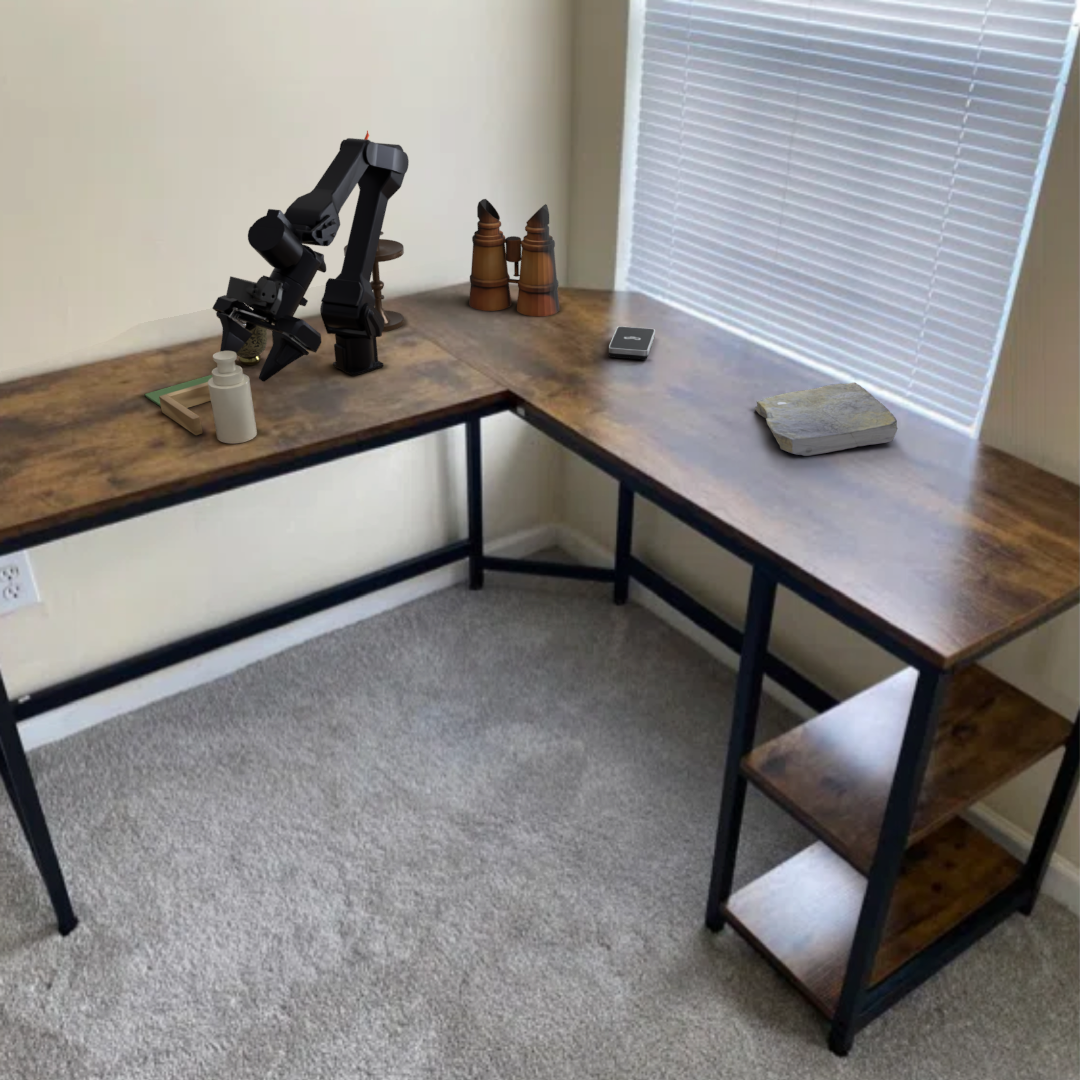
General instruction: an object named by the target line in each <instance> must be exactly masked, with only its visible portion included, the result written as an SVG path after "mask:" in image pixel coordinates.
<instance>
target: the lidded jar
mask: <svg viewBox="0 0 1080 1080" xmlns="http://www.w3.org/2000/svg"><path fill="white" fill-rule="evenodd" d="M237 359H238V356H237V354H236V353H235V352H233V351H220V350H219V351H217V352H215V353H213V355H212V361H213V362H215V363H216V367H215V368H213V369H212V370H211V375H212V378H210V379H209V381H208V387H209V393H210V399H211V401H210V404H211V411H212V418H213V422H214V429H215V435H216V439H217V441H219V442H221V443H224V444H231V445H232V444H233V445H234V444H242V443H246V442H249V441H252V440H254V438H255V437H257V435H258V430H257V423H256V415H255V408H254V402H253V394H252V388H251V382H250V376H248V375H247V374H245V373H244V372H243V371H244V370H243V368H242V367H241V366H240V365H237V364H236V360H237Z"/></svg>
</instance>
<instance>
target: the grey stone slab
mask: <svg viewBox="0 0 1080 1080" xmlns="http://www.w3.org/2000/svg"><path fill="white" fill-rule="evenodd" d="M754 410H755V411H756V412H757V414H758V415H759V416H761V417H763V418H764V419H765V420H766V424H767V426H768V428H769V429H770V431H771V433H772V435H773V437H774V438H775V440H776V442H777V444H778V445H779V448H780V450H783V451H785V452H788V453H789V454H794V455H796V456H798V455H799V456H803V457H810V456H815V455H821V454H826V453H832V452H837V451H843V450H847V449H853V448H854V449H855V448H857V447H864V446H869V445H871V446H872V445H878V444H885V443H887V444H888V443H890V442H893V440H894V438H895V436H896V434H897V431H898V420H897V418H896V417H895V415H894V414H893V413H892V412H891V410H889V408H887V407H886V406H885V405H884V404H883V403H881V401H879V400H878V399H877V398H876V397H875V396H874V395H872V393H871V392H869V391H868V390H867V389H866V388H864V387H863V386H861V385H860V384H858V383H856V382H850V383H834V384H833V383H832V384H827V385H823V386H820V387H814V388H810V389H805V390H796V391H790V392H785V393H780V394H776V395H771V396H768V397H764V398H762V399H758V400H756V406H754Z"/></svg>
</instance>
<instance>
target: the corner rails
mask: <svg viewBox="0 0 1080 1080" xmlns="http://www.w3.org/2000/svg"><path fill="white" fill-rule="evenodd" d="M159 399H160V404H161V407H160V408H161V413H162V414H164V415H165V416H167V417H168V418H169V419H171V420H173V421H174V422H175V423H177V424H178V425H180V426H181V427H182V428H184V429H186V430H187V431H188V432H190V433H191V434H192V435H194V436H198V435H202V434H203V428H202V421H201V416H199V415H198V414H196V413H194V412H193V411H192V410H190V409H189V408H191V407H195V406H199V405H202V404H206V403H208V402H211V399H210V393H209V387H208V382H206V383H202V384H199V385H196V386H192V387H189V388H185V389H182V390H179V391H175V392H172V393H168V394H165V395H162V396H159Z"/></svg>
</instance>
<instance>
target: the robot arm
mask: <svg viewBox="0 0 1080 1080" xmlns="http://www.w3.org/2000/svg"><path fill="white" fill-rule="evenodd" d="M409 162H410V161H409V156H408V154H407V152H405V151H404V149H403V147H402V146H401V145H400V144H396V143H395V144H394V143H383V142H375V141H371V140H370V139H368V140H366V139H364V138H353V137H347V138H346V139H342V141H341V142H340V145H339V151H338V152H337V154H336V155H335V156H334V158H333V160H332V161H331V162H330V164H329V166H327V169H326V170H325V172H324V173H323V174H322V176H321V177H320V178H319V180H318V182H317V183H316V185H315V187H314V188H313V189H311V191H310V192H307V193H305V194H303V195H301V196H298V197H296V199H295V200H294V201H292V203H291V204H290V205H288V207H287V208H286V210H285V212H283V211H282V210H281V209H274V208H273V209H272V208H268V209H267V212H266V214H265V215H264V216H262V217H259V218H258V219H256V220H255V222H254V223H253V224H252V225H251V226H250V227H249V229H248V232H247V241H248V243H249V245H250V246H251V248H252V249H254V251H255V252H256V253H257V254H258V255H259V256H260V257H262V259H264V261H265V262H266V263H268V264H269V265H270V266H271V267H272V268H273V269H272V271H271V273H270V275H269V276H267V275H262V276H261V277H259V278H258V279H257V281H252V280H247V279H244V278H240V277H235V276H229V280H228V284H227V290H226V294H224V295H220V296H218V297H217V298H216V300H215V302H214V304H213V306H212V310H213V311H215V314H216V315H215V316H216V317H217V318H218V319H219V322H220V324H221V329H222V332H221V334H222V335H221V343H220V349H219V352H220V351H233V352H235V353H236V354H237V353H238V351H239V350H240V349H241V348H242V347H243V345H244V344H245V343H246V342H247V341H248V339H249V338H250V337H251V336H252V333H250V332H249V331H250V330H252V329H254V328H255V327H256V325H257V326H260V327H263V328H266V329H267V330H269V331H272V333H271V334H272V346H271V348H270V350H269V351H268V354H267V357H266V358H265V360H264V363H263V365H262V367H261V369H260V372H259V375H258V380H259V381H261V382H263V383H265V382H266V381H268V380H269V379H270V378H272V377H273V376H275V375H276V374H277V373H279V372H280V371H281V370H283V369H284V368H286V367H287V366H289V365H290V364H292V363H294V362H295V361H297V360H298V359H299V358H301V357H303V356H309V354H310V352H312V353H315V354H317V351H318V350H319V348H320V346H321V344H322V334H321V333H320V332H319V331H318V330H317V329H316V328H314V327H313V326H311V325H310V324H309V323H307V322H306V321H305V320H304V319H301V318H298V317H296V316H295V314H296V312H297V310H298V308H299V306H302V307H306V306H307V305H308V302H309V300H308V299H306V298H305V295H306V293H307V291H308V290H309V287H310V285H311V283H312V282H313V280H314V278H315V276H316V274H317V273H318V272H321V273H326V272H327V263H326V262H325V254H324V253H321V252H319V251H316V250H313V248H311V247H310V245H311V246H319V247H329V246H331V244H332V243H333V241H334V240H335V238H336V236H337V234H338V231H339V228H340V227H341V221H340V215H339V214H340V212H341V210H342V208H343V206H345V205H344V204H345V203H346V202H347V200H348V198H349V197H350V195H351V194H352V192H353V190H354V189H355V188H356V186H358V189H359V192H358V198H357V201H356V206H355V209H354V215H353V219H352V223H351V227H350V232H349V236H348V241H347V244H346V245H347V249H346V253H345V256H344V257H343V263H342V266H341V271H340V273H339V274H337V276H336V277H335V278H331V277H329V278H328V279H327V281H326V282H325V286H324V287H325V288H324V291H323V292H324V293H323V296H322V298H321V299H320V300H321V302H320V303H321V304H320V309H319V311H320V317H321V319H322V322H323V326H324V328H325V331H326V334H327V335H334V339H335V343H333V349H334V350H333V351H334V359H335V360H334V362H332V366H333V367H334V368H337V369H338V370H341V371H343V372H344V373H347V374H348V375H349V376H350V375H351V376H353V377H355V376H359V375H361V374H364V373H365V374H366V373H367V372H370V371H374V370H377V369H381V368H384V366H385V365H384V362H381V361H380V360H379V356H378V355H379V354H378V344H377V338H379V337H382V336H383V334H382V333H383V332H384V331H383V329H384V318H383V317H382V316H381V314H380V313H379V312H378V311H377V310H376V309H375V296H374V293H373V290H372V288H371V285H370V282H371V277H372V269H373V265H374V260H375V256H376V251H377V247H378V243H379V239H381V235H380V234H381V231H382V229H383V225H384V220H385V217H386V216H385V215H386V211H387V206H388V203H389V201H390V199H391V198H392V197H393V196H394V195H395V194H396V193H397V192H398V191H399V190H400V189H401V187H402V185H403V181H404V179H405V175H406V173H407V172H408V169H409ZM261 320H263V321H264V322H263V321H261ZM248 330H249V331H248Z"/></svg>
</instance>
